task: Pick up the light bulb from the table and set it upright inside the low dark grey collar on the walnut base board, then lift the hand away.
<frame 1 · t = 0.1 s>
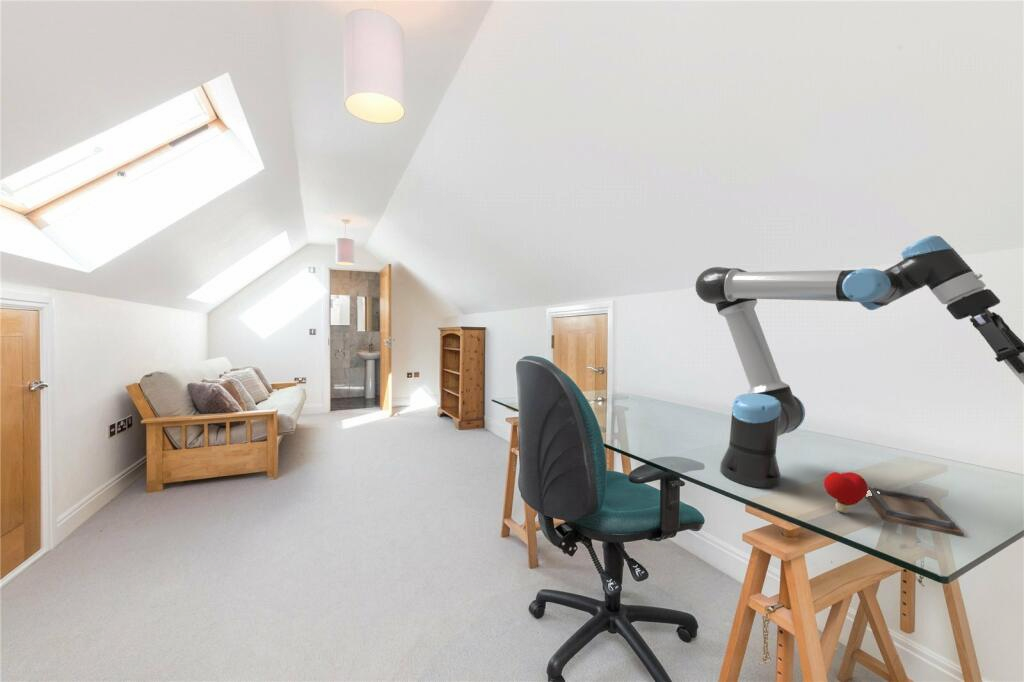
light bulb: (841, 513, 100), on the table
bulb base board: (907, 511, 101), on the table
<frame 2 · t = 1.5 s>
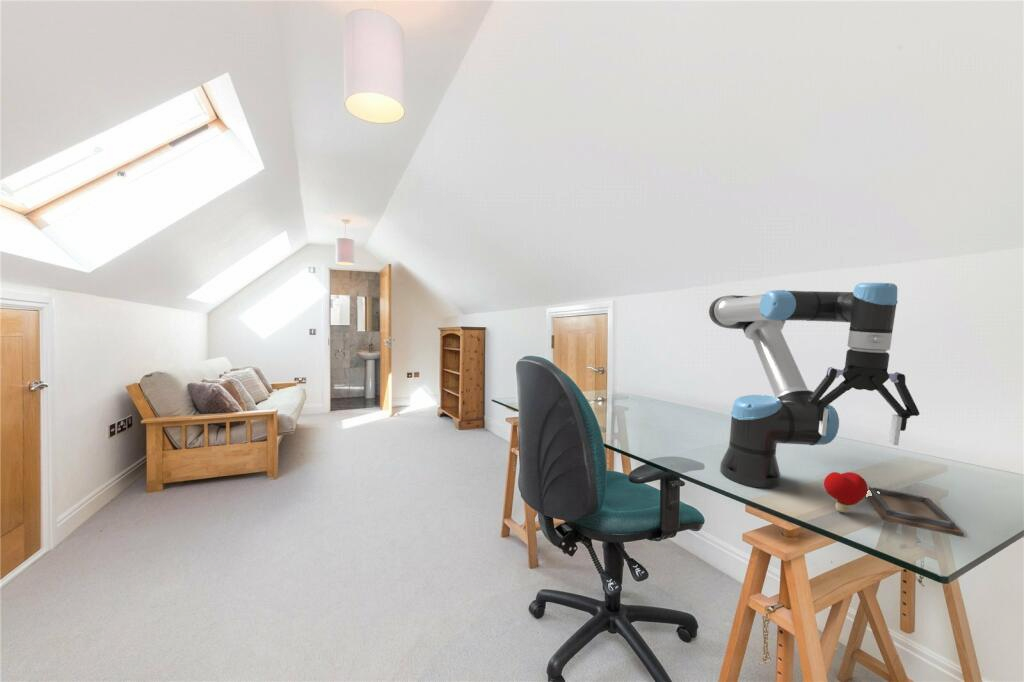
hand: (856, 438, 97), 19 cm above the table, tool pointing down, fingers open, 13 cm apart
nothing on the table moved.
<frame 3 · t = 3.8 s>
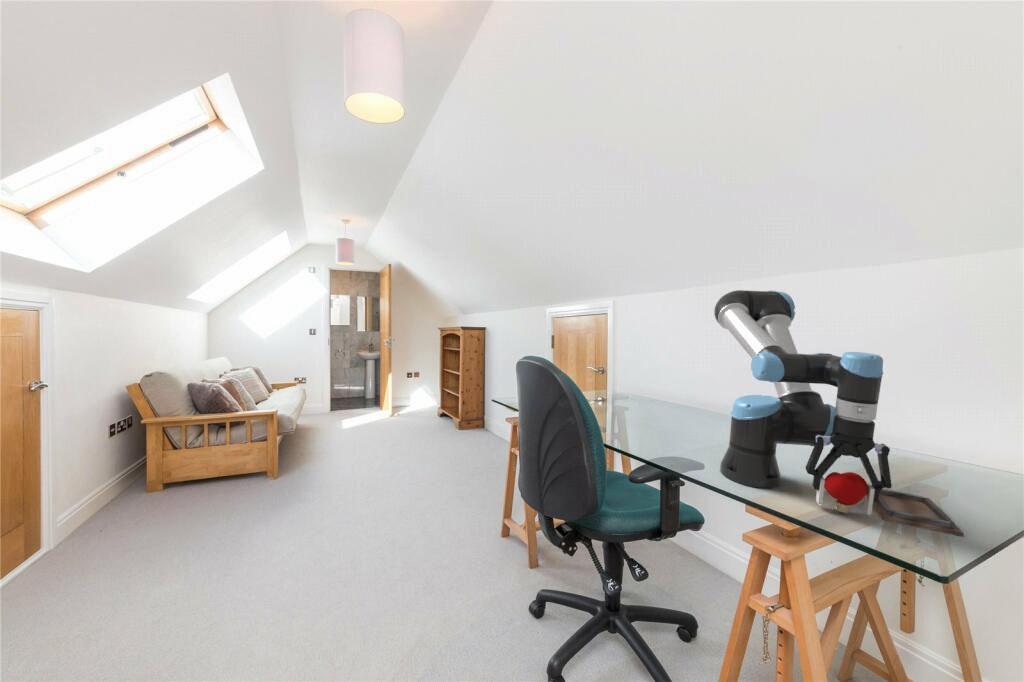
hand: (842, 507, 100), 1 cm above the table, tool pointing down, fingers closed on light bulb, 9 cm apart
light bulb: (841, 513, 100), on the table, touching gripper
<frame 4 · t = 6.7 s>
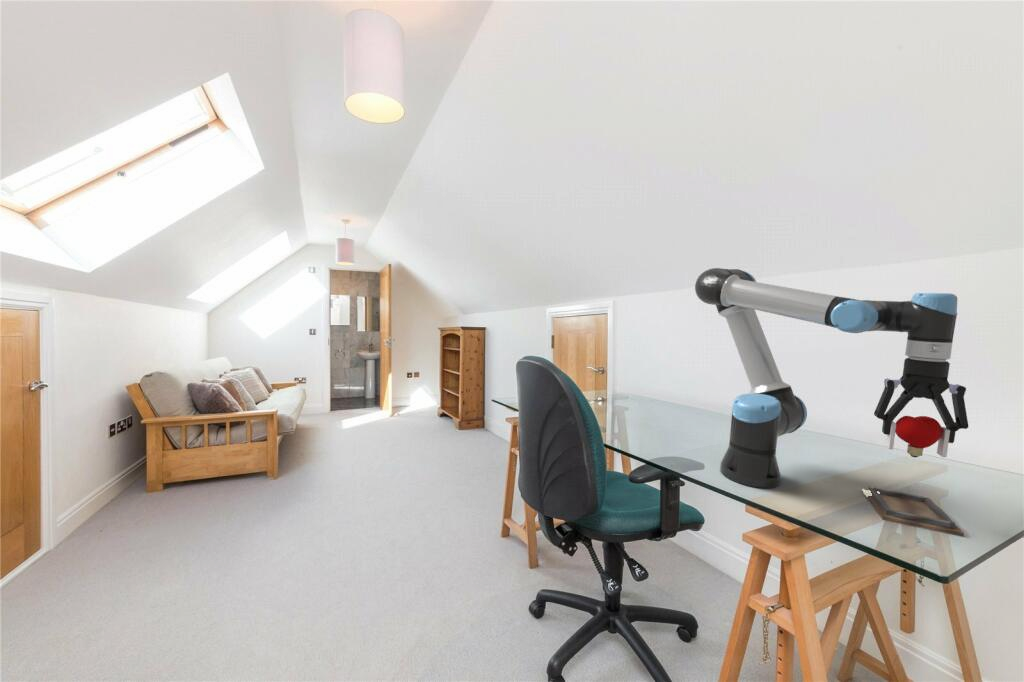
hand: (914, 451, 99), 16 cm above the table, tool pointing down, fingers closed on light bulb, 9 cm apart
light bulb: (913, 457, 99), point 14 cm above the table, touching gripper
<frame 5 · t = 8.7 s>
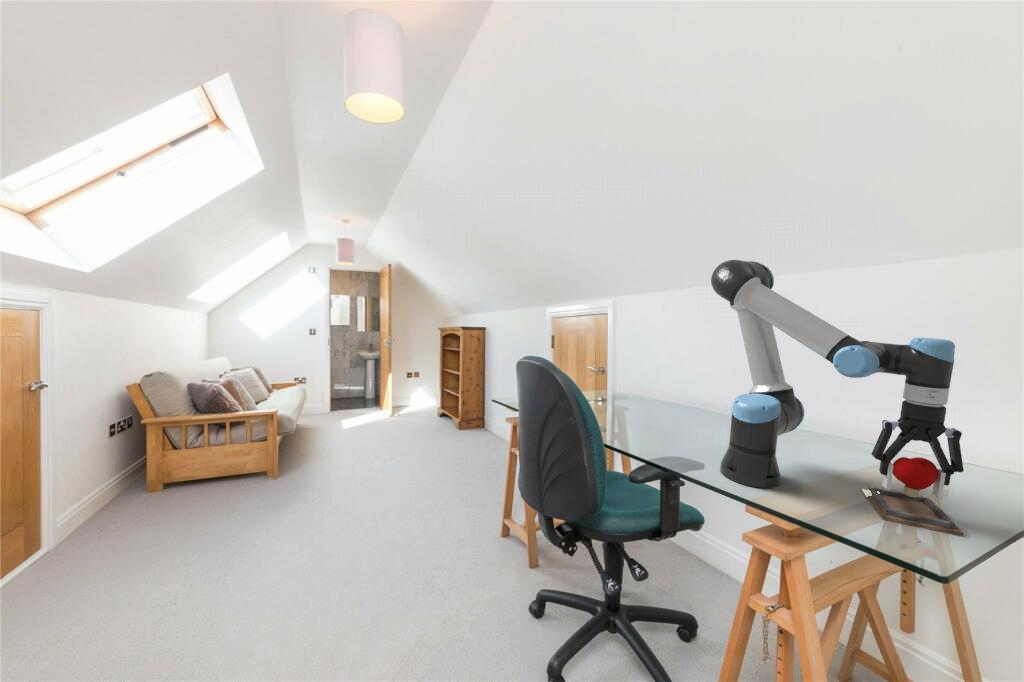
hand: (911, 491, 101), 5 cm above the table, tool pointing down, fingers closed on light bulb, 9 cm apart
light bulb: (910, 498, 101), point 4 cm above the table, touching gripper
when the fingers open (4 cm above the table, at t = 9.9 s): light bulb drops 2 cm, resting on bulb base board.
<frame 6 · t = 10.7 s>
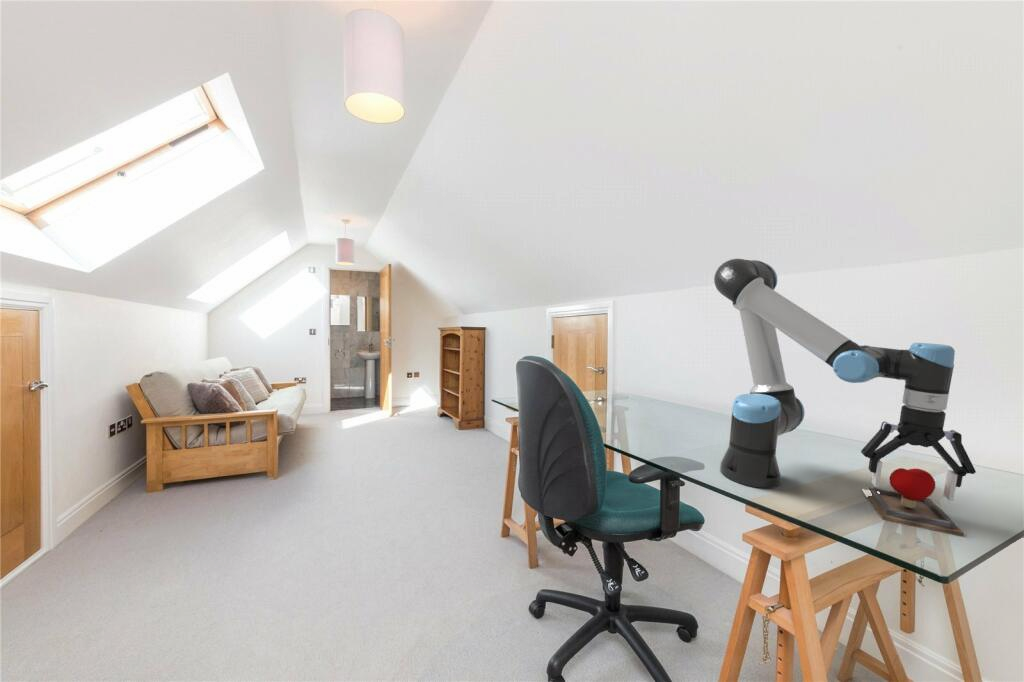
hand: (910, 491, 101), 5 cm above the table, tool pointing down, fingers open, 13 cm apart
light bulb: (907, 509, 101), point 1 cm above the table, touching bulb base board
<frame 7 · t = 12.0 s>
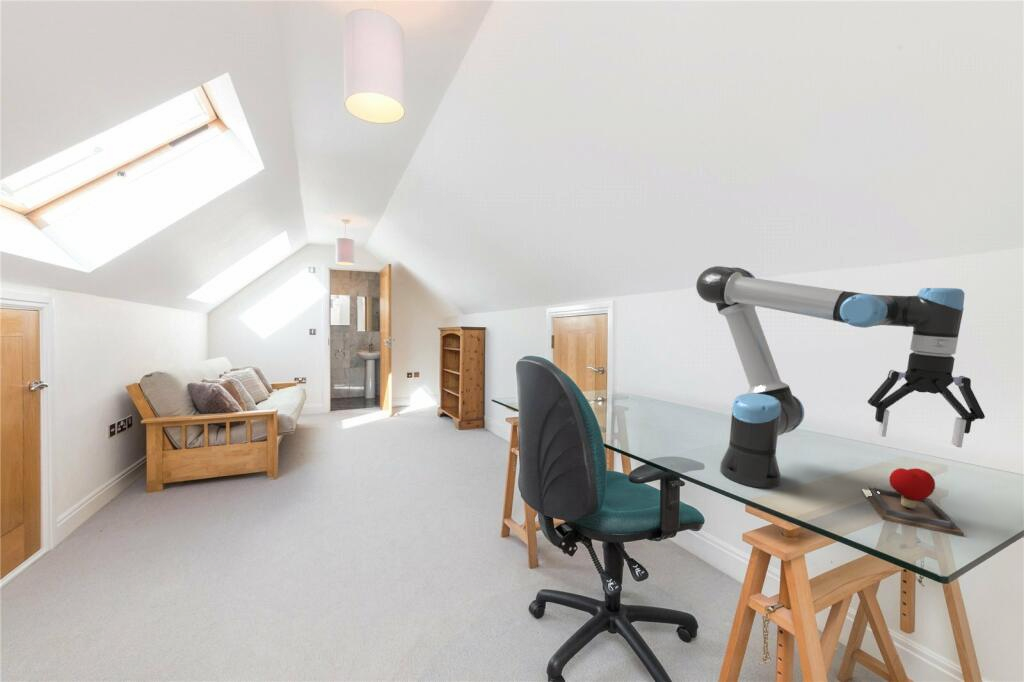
hand: (917, 440, 99), 18 cm above the table, tool pointing down, fingers open, 13 cm apart
nothing on the table moved.
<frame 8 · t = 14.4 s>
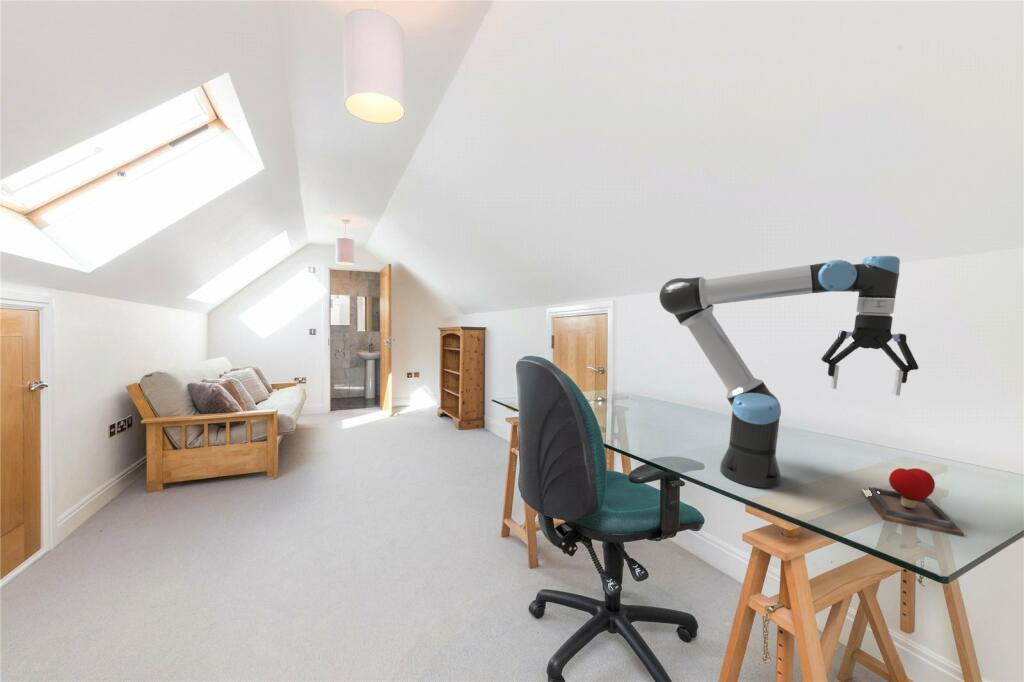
hand: (863, 391, 113), 27 cm above the table, tool pointing down, fingers open, 13 cm apart
nothing on the table moved.
at the end: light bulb 0.1 cm off-centre on the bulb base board, point 0.6 cm above the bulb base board's base; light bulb tilted 0°; the gripper is holding nothing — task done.
